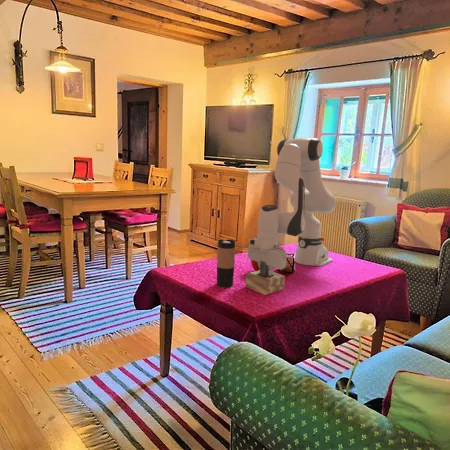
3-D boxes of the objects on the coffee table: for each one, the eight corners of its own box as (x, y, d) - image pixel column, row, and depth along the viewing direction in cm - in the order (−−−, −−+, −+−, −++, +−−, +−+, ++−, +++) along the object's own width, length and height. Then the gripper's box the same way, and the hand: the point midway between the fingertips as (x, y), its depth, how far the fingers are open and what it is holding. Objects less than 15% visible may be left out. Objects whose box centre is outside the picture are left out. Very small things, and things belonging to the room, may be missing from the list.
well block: (264, 281, 186) (265, 269, 184) (283, 289, 177) (284, 276, 175) (245, 286, 178) (246, 273, 177) (264, 294, 169) (265, 281, 168)
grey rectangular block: (265, 280, 179) (266, 259, 177) (270, 282, 177) (271, 260, 175) (259, 282, 177) (260, 260, 175) (264, 284, 174) (265, 262, 172)
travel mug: (227, 288, 174) (229, 244, 170) (212, 285, 178) (214, 241, 174) (236, 284, 180) (238, 240, 176) (222, 280, 184) (223, 238, 180)
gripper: (290, 247, 168) (288, 278, 170) (256, 237, 183) (254, 266, 186) (280, 249, 164) (278, 281, 166) (246, 239, 179) (244, 268, 181)
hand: (265, 273), depth 176 cm, fingers closed on grey rectangular block, 3 cm apart
